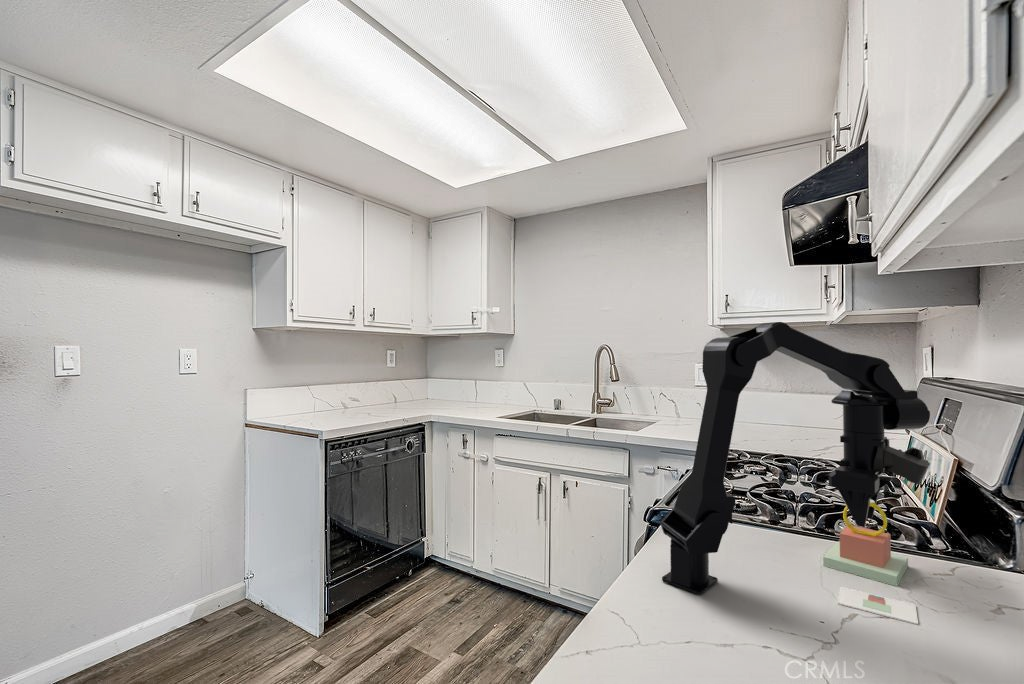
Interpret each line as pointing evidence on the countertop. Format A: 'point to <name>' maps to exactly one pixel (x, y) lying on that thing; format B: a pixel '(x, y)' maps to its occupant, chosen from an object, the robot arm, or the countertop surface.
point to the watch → (872, 503)
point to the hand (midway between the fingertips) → (864, 522)
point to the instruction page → (878, 605)
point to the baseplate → (867, 566)
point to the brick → (865, 547)
